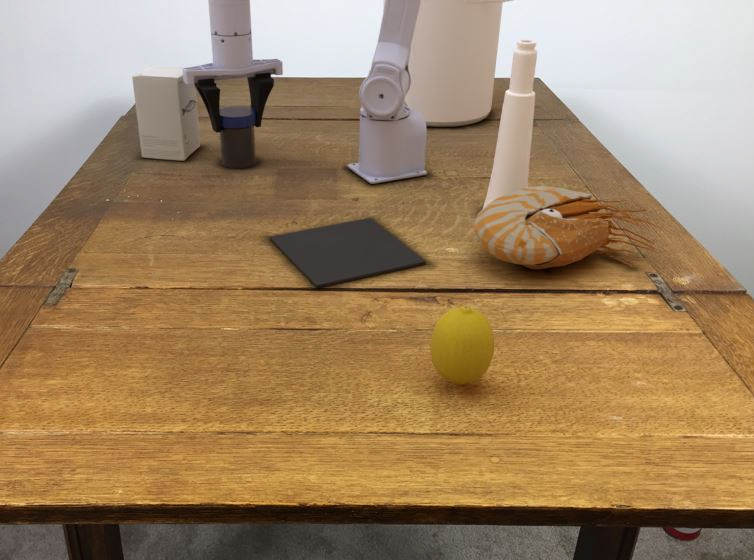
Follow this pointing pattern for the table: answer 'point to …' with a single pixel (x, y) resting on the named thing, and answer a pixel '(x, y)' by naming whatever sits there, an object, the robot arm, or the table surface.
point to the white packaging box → (166, 113)
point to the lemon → (462, 345)
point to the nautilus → (549, 227)
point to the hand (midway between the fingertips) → (237, 128)
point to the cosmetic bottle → (515, 126)
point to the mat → (346, 252)
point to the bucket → (454, 60)
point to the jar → (238, 147)
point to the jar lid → (237, 117)
